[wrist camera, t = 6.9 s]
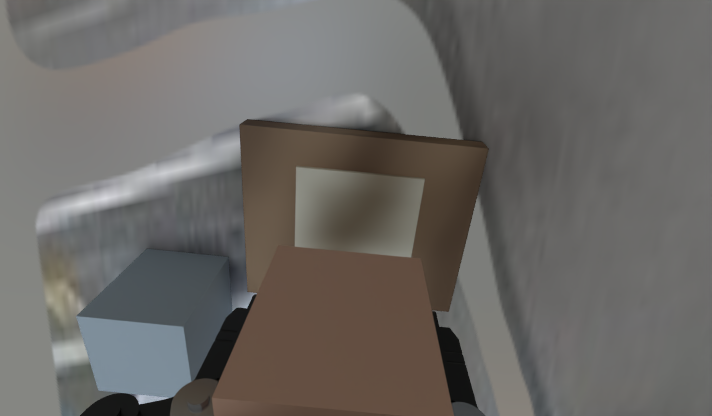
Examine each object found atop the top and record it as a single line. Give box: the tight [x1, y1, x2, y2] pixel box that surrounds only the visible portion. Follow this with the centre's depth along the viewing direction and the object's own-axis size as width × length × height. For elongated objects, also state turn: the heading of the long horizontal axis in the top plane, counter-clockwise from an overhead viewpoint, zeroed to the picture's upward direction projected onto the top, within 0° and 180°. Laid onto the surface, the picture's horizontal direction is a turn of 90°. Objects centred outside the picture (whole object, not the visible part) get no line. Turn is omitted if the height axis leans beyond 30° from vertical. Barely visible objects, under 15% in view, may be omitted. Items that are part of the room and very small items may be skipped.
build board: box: [240, 119, 489, 312], centre depth 20 cm, size 12×10×1 cm
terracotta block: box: [212, 245, 454, 416], centre depth 11 cm, size 5×5×6 cm
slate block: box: [76, 249, 232, 398], centre depth 21 cm, size 5×5×6 cm
